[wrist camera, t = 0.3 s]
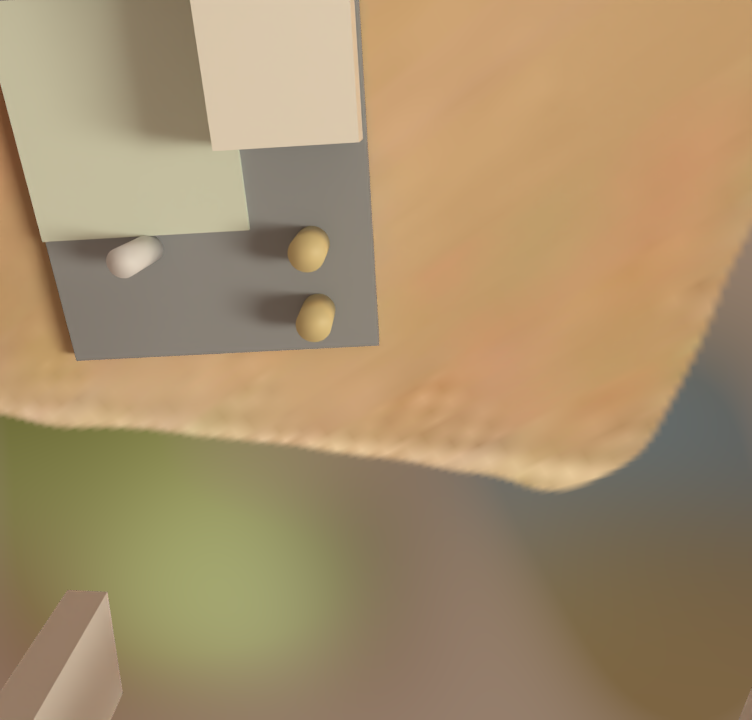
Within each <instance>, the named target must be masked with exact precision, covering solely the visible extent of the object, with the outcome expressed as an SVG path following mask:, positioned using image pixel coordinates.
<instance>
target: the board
mask: <svg viewBox="0 0 752 720" xmlns="http://www.w3.org/2000/svg"><path fill="white" fill-rule="evenodd" d="M354 1H355V17H356V34H357V50H358V66H359V82H360V99H361V115H362V131H363V139H362V140H361V141H360V142H356V143H339V144H323V145H307V146H290V147H274V148H257V149H241V150H225V151H213V150H212V144H211V137H210V131H209V124H208V117H207V111H206V104H205V97H204V91H203V84H202V77H201V71H200V64H199V57H198V51H197V44H196V38H195V31H194V24H193V18H192V11H191V4H190V0H0V84H1V88H2V92H3V96H4V99H5V103H6V107H7V111H8V115H9V118H10V122H11V126H12V130H13V133H14V137H15V141H16V145H17V148H18V152H19V156H20V160H21V164H22V167H23V171H24V175H25V179H26V182H27V186H28V190H29V194H30V198H31V201H32V205H33V209H34V213H35V216H36V220H37V224H38V228H39V232H40V235H41V239H42V242H45V243H46V247H47V250H48V254H49V258H50V262H51V266H52V269H53V273H54V277H55V281H56V285H57V288H58V292H59V296H60V300H61V304H62V307H63V311H64V315H65V319H66V323H67V326H68V330H69V334H70V338H71V342H72V345H73V349H74V353H75V357H76V361H82V360H102V359H121V358H141V357H161V356H180V355H200V354H220V353H239V352H259V351H279V350H299V349H318V348H338V347H358V346H377V345H379V329H378V312H377V295H376V278H375V261H374V244H373V227H372V210H371V193H370V176H369V159H368V142H367V125H366V108H365V91H364V74H363V57H362V40H361V24H360V7H359V0H354Z"/></svg>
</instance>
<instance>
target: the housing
mask: <svg viewBox="0 0 752 720" xmlns="http://www.w3.org/2000/svg"><path fill="white" fill-rule="evenodd" d="M190 4H191V11H192V18H193V24H194V31H195V38H196V44H197V51H198V57H199V64H200V71H201V77H202V84H203V91H204V97H205V104H206V111H207V117H208V124H209V131H210V137H211V144H212V150H213V151H225V150H241V149H257V148H274V147H290V146H307V145H323V144H339V143H356V142H360V141H361V140H362V139H363V131H362V115H361V99H360V82H359V66H358V50H357V34H356V17H355V1H354V0H190Z"/></svg>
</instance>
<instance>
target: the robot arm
mask: <svg viewBox="0 0 752 720" xmlns="http://www.w3.org/2000/svg"><path fill="white" fill-rule="evenodd" d="M121 696H122V686H121V679H120V673H119V666H118V660H117V653H116V647H115V640H114V633H113V626H112V620H111V613H110V607H109V600H108V593H107V592H98V591H77V590H76V591H75V590H67V592H66V593H65V595H64V596H63V598H62V599H61V601H60V602H59V604H58V605H57V607H56V608H55V610H54V611H53V613H52V614H51V616H50V617H49V619H48V621H47V622H46V623H45V625H44V626H43V628H42V629H41V631H40V632H39V634H38V635H37V637H36V638H35V640H34V641H33V643H32V645H31V646H30V647H29V649H28V650H27V652H26V654H25V655H24V657H23V658H22V659H21V661H20V663H19V664H18V665H17V667H16V669H15V670H14V672H13V673H12V674H11V676H10V678H9V679H8V681H7V682H6V684H5V685H4V687H3V688H2V690H1V691H0V720H111V718H112V716H113V714H114V711H115V709H116V707H117V705H118V703H119V700H120V698H121ZM739 720H752V689H751V691H750V693H749V696H748V698H747V701H746V703H745V706H744V709H743V711H742V713H741V716H740V718H739Z"/></svg>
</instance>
